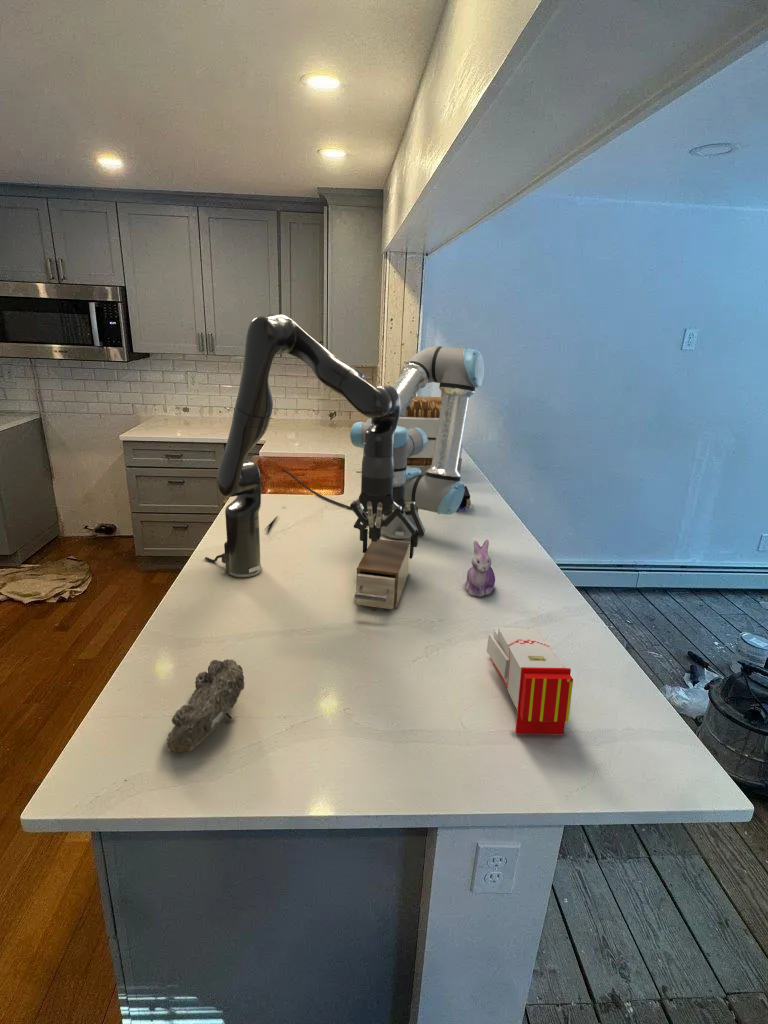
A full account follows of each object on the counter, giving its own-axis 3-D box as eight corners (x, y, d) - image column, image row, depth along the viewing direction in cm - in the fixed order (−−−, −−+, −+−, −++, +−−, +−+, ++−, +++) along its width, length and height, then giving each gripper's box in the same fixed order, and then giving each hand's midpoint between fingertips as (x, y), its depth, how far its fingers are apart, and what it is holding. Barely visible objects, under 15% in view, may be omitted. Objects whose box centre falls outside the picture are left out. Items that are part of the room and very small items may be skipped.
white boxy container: (382, 463, 289) (386, 382, 275) (445, 464, 293) (451, 384, 279) (390, 482, 257) (394, 392, 243) (460, 483, 261) (468, 394, 247)
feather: (285, 510, 221) (287, 506, 220) (266, 535, 194) (269, 530, 194) (281, 507, 221) (283, 503, 220) (262, 532, 194) (265, 527, 193)
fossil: (192, 660, 117) (244, 628, 112) (224, 691, 120) (276, 661, 115) (142, 746, 98) (202, 712, 93) (182, 779, 101) (242, 748, 96)
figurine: (477, 600, 156) (482, 550, 151) (456, 584, 164) (460, 537, 159) (504, 594, 160) (510, 545, 155) (482, 579, 168) (487, 532, 163)
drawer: (389, 620, 143) (390, 590, 140) (350, 615, 144) (351, 585, 141) (404, 576, 166) (406, 550, 163) (371, 572, 168) (372, 546, 165)
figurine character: (470, 516, 223) (465, 500, 237) (473, 499, 220) (467, 484, 233) (453, 516, 223) (449, 500, 236) (455, 498, 220) (451, 483, 233)
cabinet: (396, 608, 150) (398, 573, 147) (355, 602, 152) (356, 567, 149) (408, 574, 170) (410, 542, 166) (371, 569, 172) (373, 538, 168)
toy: (534, 612, 132) (582, 675, 102) (529, 665, 135) (574, 741, 105) (482, 611, 131) (516, 674, 102) (478, 664, 134) (510, 740, 105)
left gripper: (346, 474, 131) (344, 543, 137) (402, 479, 129) (398, 549, 135) (354, 466, 138) (352, 532, 144) (407, 471, 136) (403, 537, 142)
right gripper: (344, 482, 155) (342, 553, 162) (435, 491, 151) (429, 564, 158) (351, 475, 162) (349, 544, 169) (438, 484, 158) (432, 554, 165)
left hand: (374, 540), depth 139 cm, fingers closed
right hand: (387, 554), depth 163 cm, fingers open, 13 cm apart
